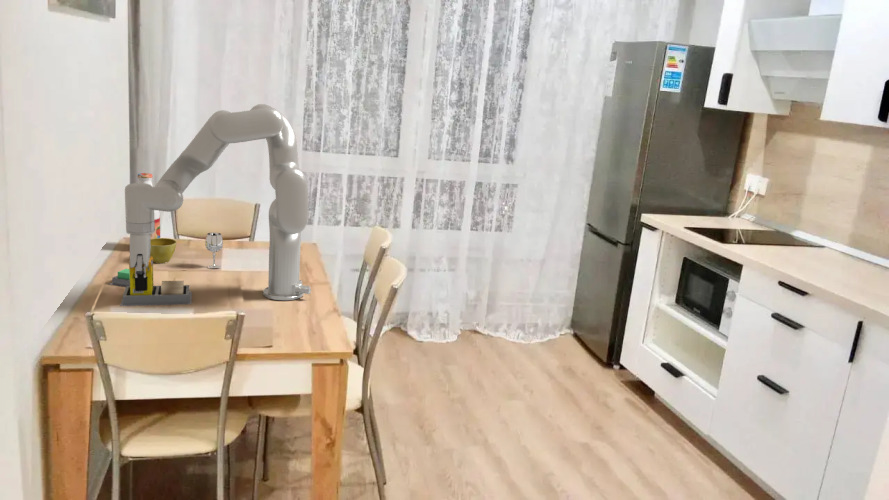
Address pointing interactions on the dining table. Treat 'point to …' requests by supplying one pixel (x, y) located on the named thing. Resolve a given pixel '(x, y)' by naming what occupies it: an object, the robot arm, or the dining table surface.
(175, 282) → the block
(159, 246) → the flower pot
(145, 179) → the fruit juice
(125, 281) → the button housing
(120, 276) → the button
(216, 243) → the wineglass
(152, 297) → the divided grey tray
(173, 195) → the robot arm
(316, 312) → the dining table surface
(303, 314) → the dining table surface
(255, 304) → the dining table surface
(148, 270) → the supplement box
